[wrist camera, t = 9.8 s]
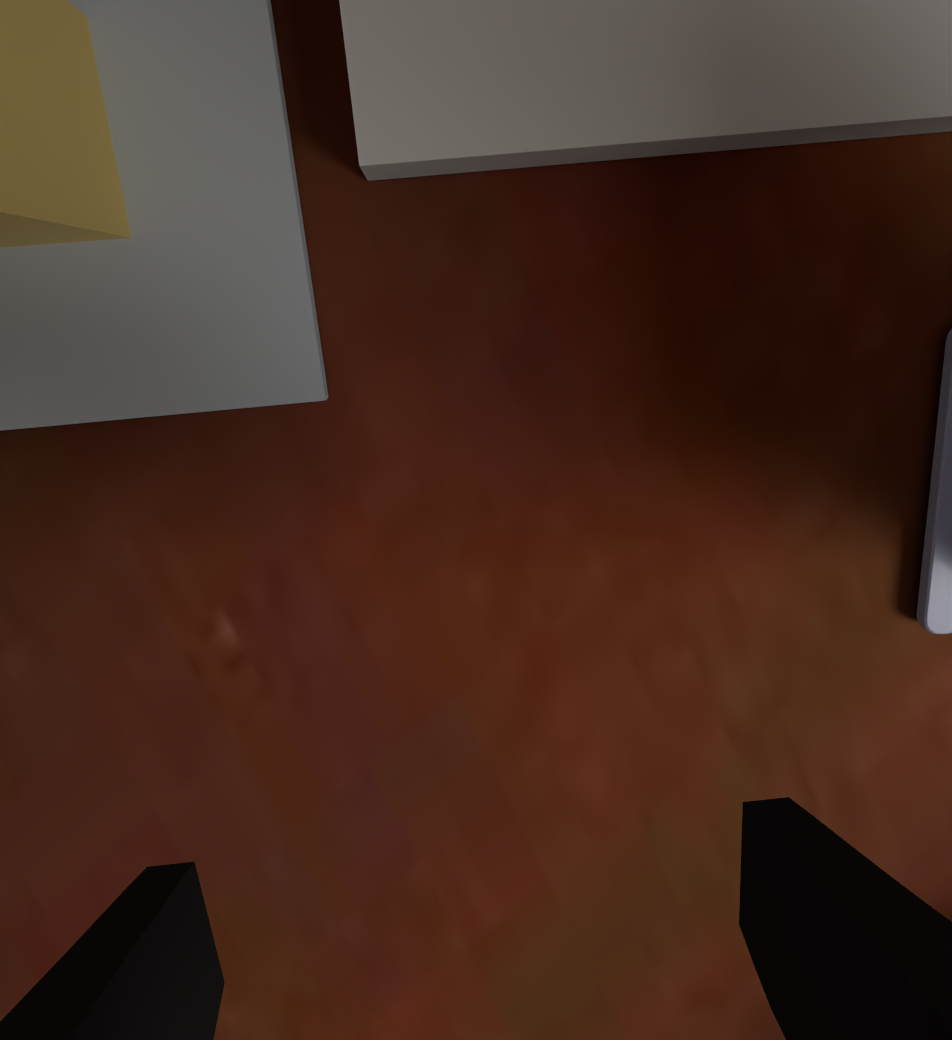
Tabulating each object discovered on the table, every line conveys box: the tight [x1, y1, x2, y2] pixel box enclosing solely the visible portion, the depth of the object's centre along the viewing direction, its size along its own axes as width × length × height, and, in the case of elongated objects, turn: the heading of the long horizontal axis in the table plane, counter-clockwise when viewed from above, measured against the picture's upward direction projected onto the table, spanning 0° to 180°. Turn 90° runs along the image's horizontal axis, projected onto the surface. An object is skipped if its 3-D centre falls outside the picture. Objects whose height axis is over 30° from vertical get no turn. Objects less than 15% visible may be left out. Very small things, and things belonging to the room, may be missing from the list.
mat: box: [0, 0, 329, 431], centre depth 15 cm, size 11×11×1 cm
